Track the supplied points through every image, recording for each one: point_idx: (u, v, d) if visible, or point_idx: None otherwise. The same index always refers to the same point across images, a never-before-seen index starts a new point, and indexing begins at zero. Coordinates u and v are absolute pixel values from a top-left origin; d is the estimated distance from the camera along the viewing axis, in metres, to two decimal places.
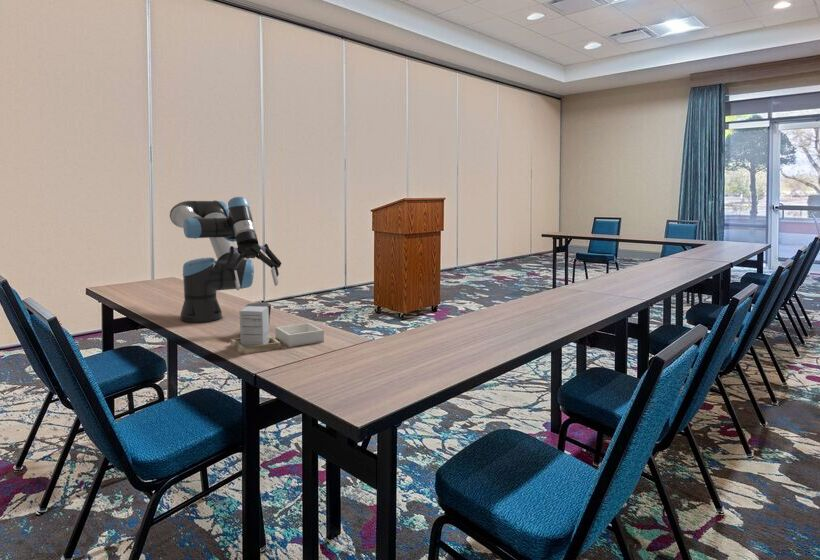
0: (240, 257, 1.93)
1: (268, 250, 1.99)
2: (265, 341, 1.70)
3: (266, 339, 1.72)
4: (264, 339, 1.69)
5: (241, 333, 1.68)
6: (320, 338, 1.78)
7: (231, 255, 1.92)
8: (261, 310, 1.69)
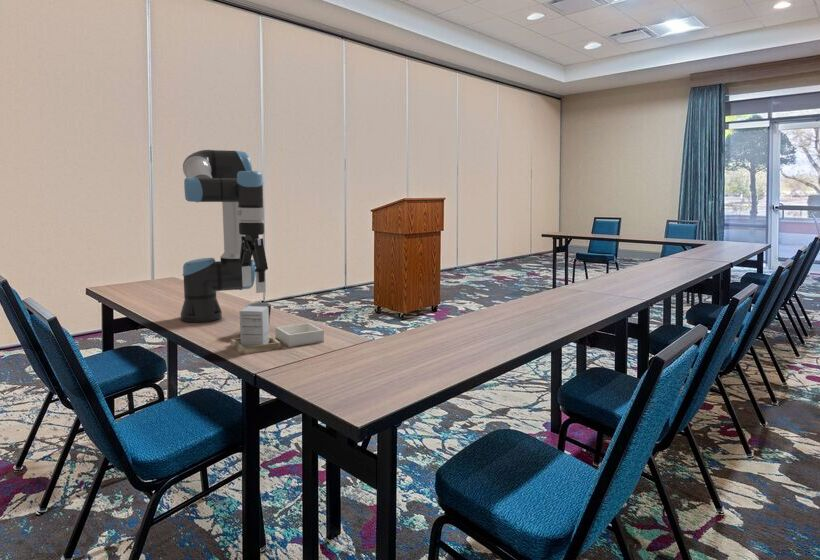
0: (244, 251, 1.71)
1: (255, 248, 1.62)
2: (265, 341, 1.70)
3: (266, 339, 1.72)
4: (264, 339, 1.69)
5: (241, 333, 1.68)
6: (320, 338, 1.78)
7: (241, 247, 1.73)
8: (261, 310, 1.69)
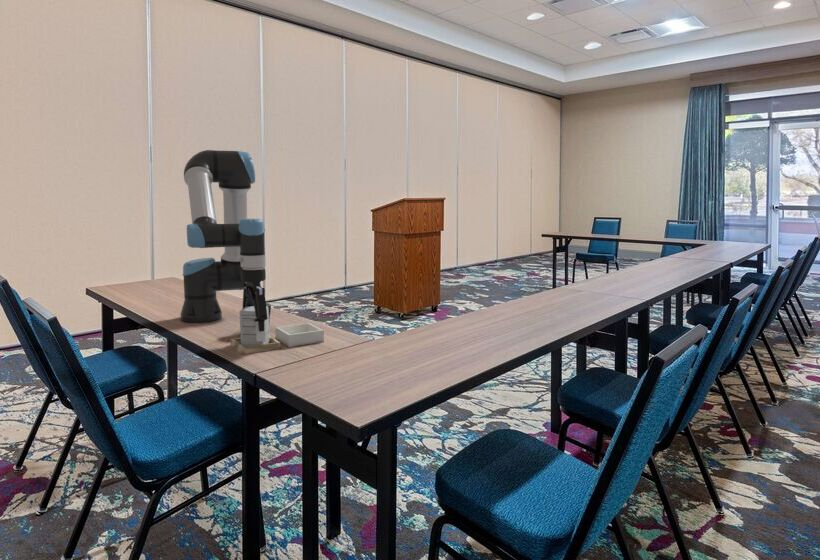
0: (246, 298, 1.72)
1: (256, 297, 1.64)
2: (265, 341, 1.70)
3: (266, 339, 1.72)
4: None
5: (241, 333, 1.68)
6: (320, 338, 1.78)
7: (243, 294, 1.75)
8: None
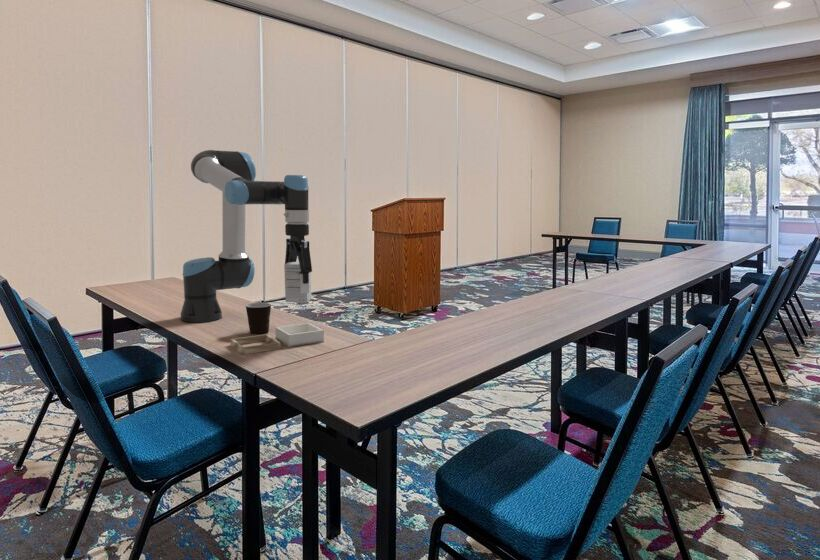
0: (290, 253, 1.78)
1: (301, 250, 1.70)
2: (308, 294, 1.76)
3: (309, 292, 1.78)
4: None
5: (286, 286, 1.75)
6: (320, 338, 1.78)
7: (286, 250, 1.81)
8: None
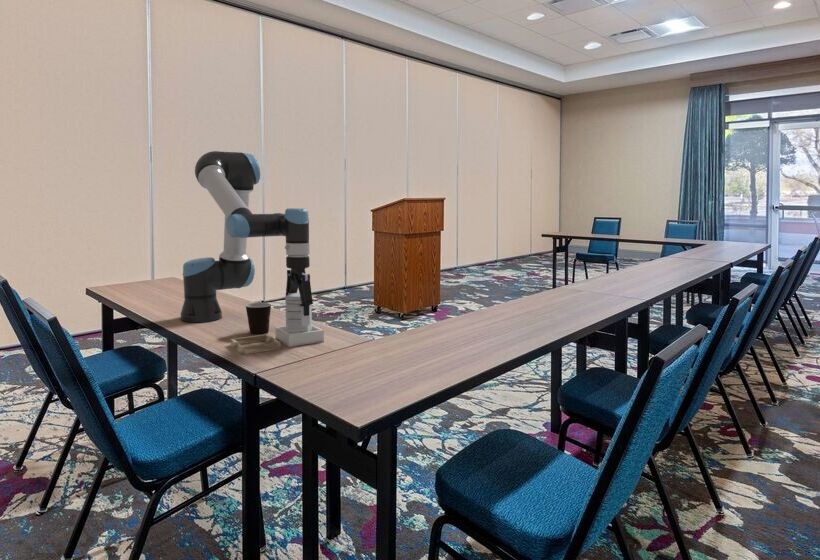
0: (291, 285, 1.80)
1: (302, 283, 1.72)
2: (309, 325, 1.78)
3: (310, 324, 1.80)
4: None
5: (286, 318, 1.76)
6: (320, 338, 1.78)
7: (287, 281, 1.82)
8: None
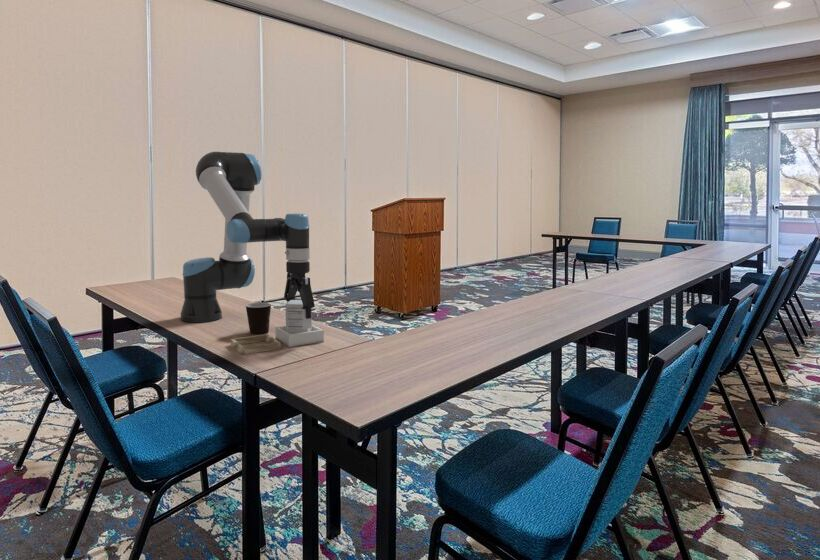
0: (290, 288, 1.81)
1: (302, 287, 1.72)
2: None
3: (309, 331, 1.80)
4: (308, 331, 1.78)
5: (287, 325, 1.77)
6: (320, 338, 1.78)
7: (287, 283, 1.83)
8: None
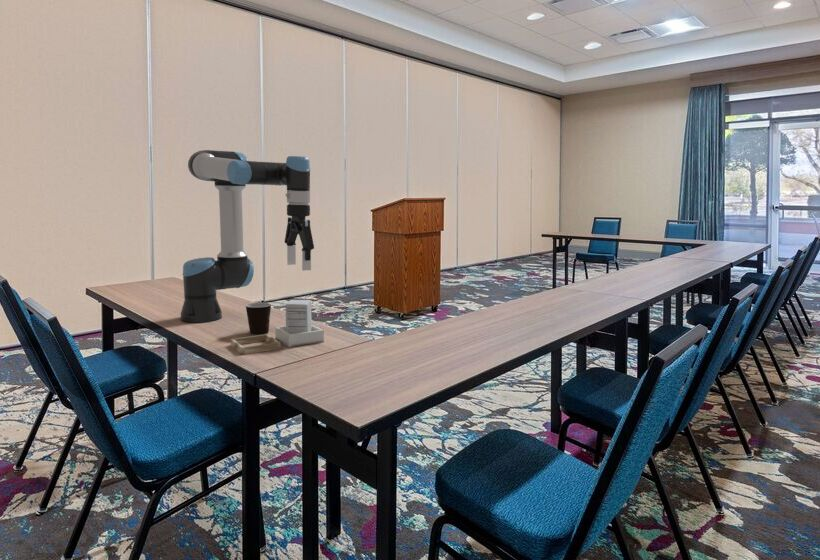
0: (290, 232, 1.82)
1: (302, 228, 1.73)
2: None
3: (309, 331, 1.80)
4: (308, 331, 1.78)
5: (287, 325, 1.77)
6: (320, 338, 1.78)
7: (287, 228, 1.85)
8: (306, 303, 1.77)
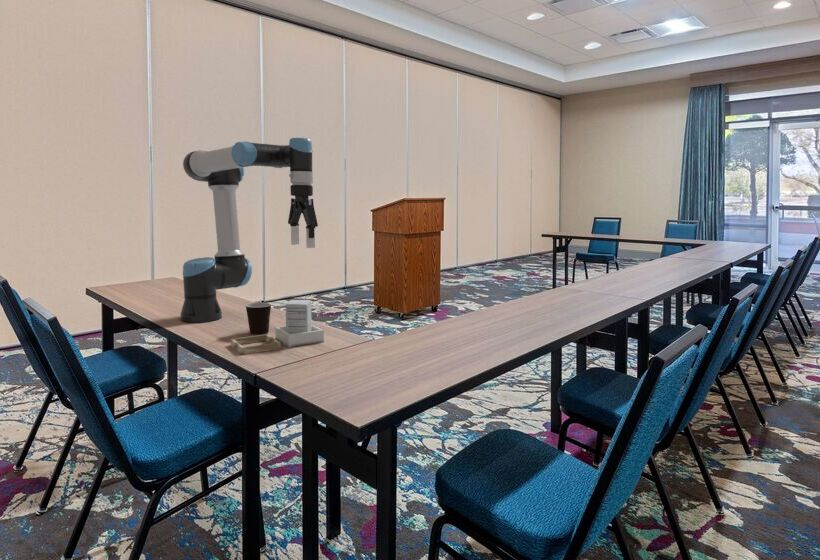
0: (294, 212, 1.89)
1: (306, 207, 1.80)
2: None
3: (309, 331, 1.80)
4: (308, 331, 1.78)
5: (287, 325, 1.77)
6: (320, 338, 1.78)
7: (291, 209, 1.91)
8: (306, 303, 1.77)
